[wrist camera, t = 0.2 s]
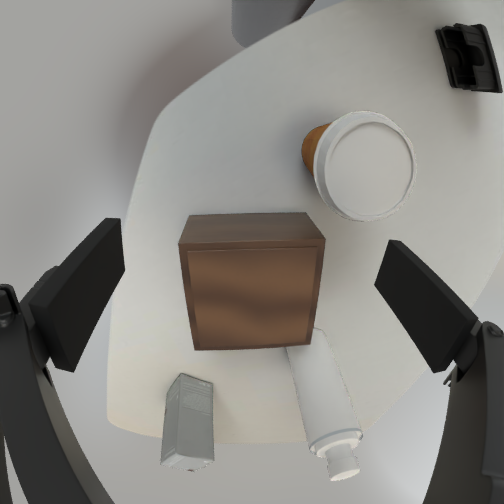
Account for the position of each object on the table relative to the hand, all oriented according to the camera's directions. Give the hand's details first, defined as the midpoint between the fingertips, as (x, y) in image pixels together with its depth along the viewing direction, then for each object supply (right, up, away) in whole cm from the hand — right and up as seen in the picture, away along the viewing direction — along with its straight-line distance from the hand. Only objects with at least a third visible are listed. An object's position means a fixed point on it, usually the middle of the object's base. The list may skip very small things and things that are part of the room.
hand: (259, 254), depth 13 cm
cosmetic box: (-12, -25, +35) cm, 44 cm away
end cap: (+29, +28, +12) cm, 42 cm away
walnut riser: (-1, -2, +24) cm, 24 cm away
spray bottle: (+8, -14, +31) cm, 35 cm away
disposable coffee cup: (+8, +12, +18) cm, 23 cm away
